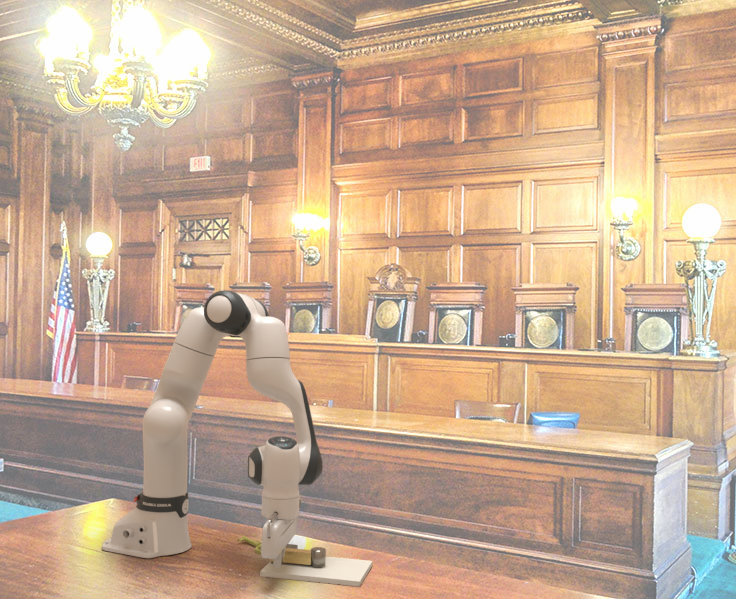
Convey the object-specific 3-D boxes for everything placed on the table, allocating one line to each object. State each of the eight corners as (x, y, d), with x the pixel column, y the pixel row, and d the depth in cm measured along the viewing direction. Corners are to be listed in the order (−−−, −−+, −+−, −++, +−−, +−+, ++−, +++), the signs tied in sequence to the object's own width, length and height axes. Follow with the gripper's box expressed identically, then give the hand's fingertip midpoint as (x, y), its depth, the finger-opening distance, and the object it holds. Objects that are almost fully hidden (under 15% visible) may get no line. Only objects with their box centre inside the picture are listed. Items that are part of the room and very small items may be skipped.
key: (242, 542, 214) (242, 534, 214) (282, 549, 210) (283, 541, 210) (228, 550, 208) (228, 542, 208) (269, 557, 203) (269, 549, 203)
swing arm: (326, 562, 194) (327, 547, 194) (323, 567, 191) (324, 552, 191) (274, 558, 196) (274, 543, 196) (270, 563, 193) (270, 547, 193)
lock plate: (260, 576, 188) (260, 557, 188) (279, 556, 202) (280, 539, 202) (359, 586, 183) (360, 567, 183) (372, 565, 198) (372, 548, 198)
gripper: (282, 520, 177) (280, 582, 177) (302, 497, 197) (301, 553, 197) (255, 518, 178) (253, 579, 178) (278, 496, 198) (276, 551, 198)
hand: (278, 565), depth 188 cm, fingers closed
